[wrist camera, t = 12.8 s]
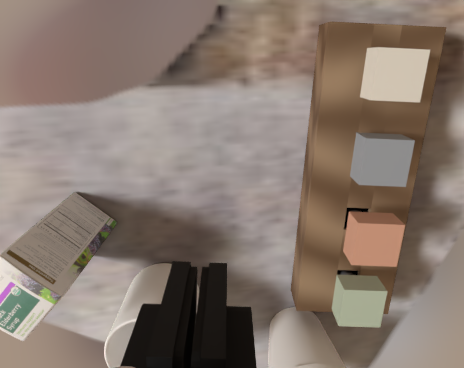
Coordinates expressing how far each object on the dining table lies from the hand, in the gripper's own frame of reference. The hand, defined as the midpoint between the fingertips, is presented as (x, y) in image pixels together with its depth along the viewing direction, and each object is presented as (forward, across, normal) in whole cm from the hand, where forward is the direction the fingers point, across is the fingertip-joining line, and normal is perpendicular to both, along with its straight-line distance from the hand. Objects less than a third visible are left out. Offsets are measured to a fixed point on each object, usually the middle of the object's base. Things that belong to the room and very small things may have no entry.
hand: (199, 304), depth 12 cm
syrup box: (+29, +15, +11) cm, 35 cm away
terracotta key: (+25, -14, +8) cm, 30 cm away
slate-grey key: (+26, -14, 0) cm, 30 cm away
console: (+29, -14, +4) cm, 33 cm away
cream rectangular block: (+27, -14, -6) cm, 31 cm away
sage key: (+26, -14, +14) cm, 33 cm away
